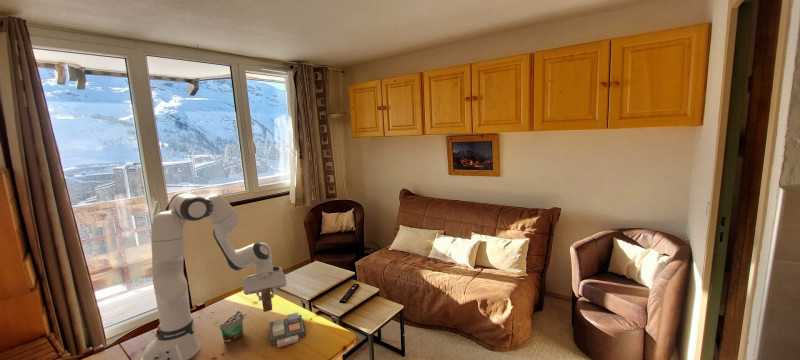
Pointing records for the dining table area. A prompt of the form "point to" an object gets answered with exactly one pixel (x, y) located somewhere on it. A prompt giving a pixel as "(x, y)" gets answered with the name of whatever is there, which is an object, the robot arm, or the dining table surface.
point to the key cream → (278, 330)
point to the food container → (233, 328)
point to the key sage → (278, 322)
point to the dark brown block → (266, 300)
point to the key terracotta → (294, 327)
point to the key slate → (293, 318)
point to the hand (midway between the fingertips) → (266, 298)
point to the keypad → (286, 334)
